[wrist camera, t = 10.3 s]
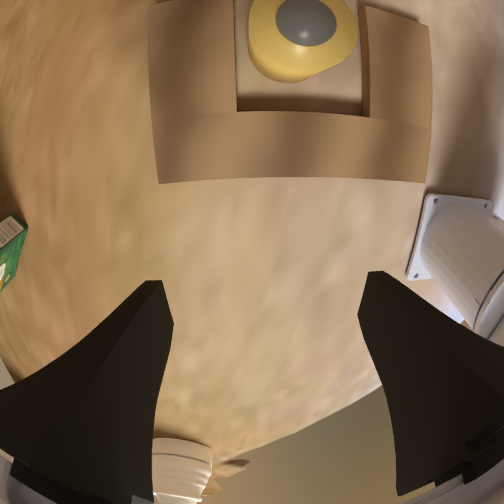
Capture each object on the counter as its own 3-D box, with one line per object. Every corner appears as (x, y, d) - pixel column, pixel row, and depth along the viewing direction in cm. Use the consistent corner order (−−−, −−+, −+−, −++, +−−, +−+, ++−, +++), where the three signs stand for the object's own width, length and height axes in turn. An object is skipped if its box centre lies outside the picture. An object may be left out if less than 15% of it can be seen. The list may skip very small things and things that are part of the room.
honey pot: (152, 449, 45) (143, 516, 29) (147, 432, 38) (135, 515, 23) (209, 459, 46) (206, 526, 31) (216, 444, 40) (213, 528, 25)
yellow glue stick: (320, 23, 12) (356, -13, 6) (322, 85, 14) (362, 75, 8) (248, 19, 12) (247, -25, 6) (248, 82, 14) (249, 65, 8)
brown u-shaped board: (419, 29, 11) (428, 26, 10) (416, 178, 17) (425, 183, 16) (154, 10, 11) (149, 5, 10) (164, 179, 17) (158, 183, 16)
